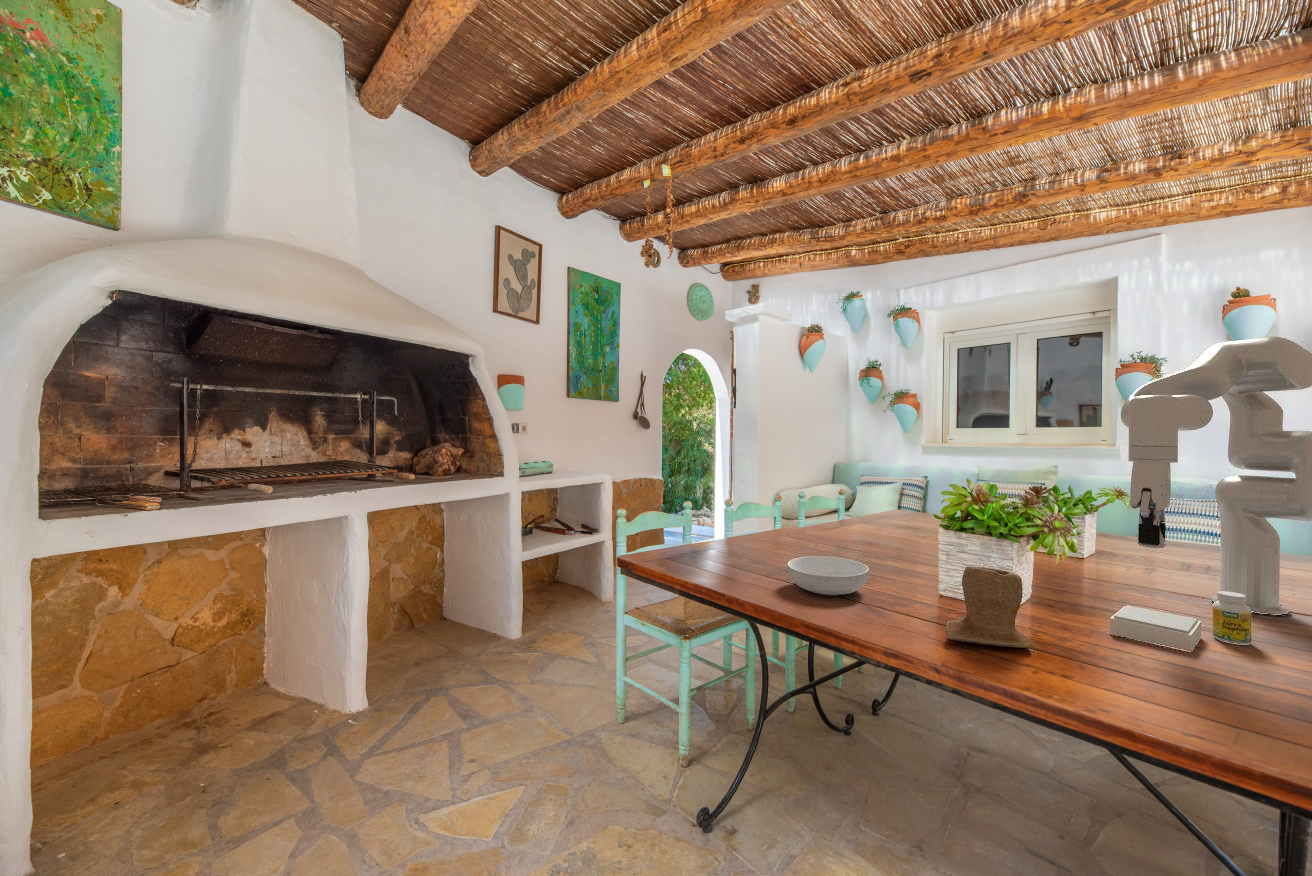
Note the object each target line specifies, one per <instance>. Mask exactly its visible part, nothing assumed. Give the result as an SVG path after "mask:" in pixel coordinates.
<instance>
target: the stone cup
mask: <svg viewBox="0 0 1312 876" xmlns="http://www.w3.org/2000/svg"><path fill="white" fill-rule="evenodd" d="M961 585H962V591H963V598H964V602H965V603H964V604H965V611H966V614H965V616H964V617H963V618H962V619H959V620H954V619H953V620H947V621H946V623H945V635H946V639H947V640H950V641H957V642H962V643H963V642H964V643H969V644H976V645H977V644H978V645H982V646H983V645H984V646H992V647H993V646H994V647H1005V648H1006V647H1007V648H1018V649H1022V648H1023V649H1026V648H1027V649H1028V648H1031V645H1032V642H1031V640H1030V638H1028V636H1026V635H1025V634H1023V633H1022V632H1020V631H1018V630H1017V628H1016V617H1017V614H1018V612H1019V609H1020V606H1021V603H1022V601H1023V591H1024V590H1023V580H1022V577H1021V576H1020V575H1019V574H1018V573H1015V572H1013V571H1009V570H1005V569H999V568H990V567H984V566H983V567H982V566H974V565H973V566H972V565H967V566H966V567H965V569H964V571H963V573H962V578H961Z"/></svg>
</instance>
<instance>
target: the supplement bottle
mask: <svg viewBox="0 0 1312 876" xmlns="http://www.w3.org/2000/svg"><path fill="white" fill-rule="evenodd" d="M1216 595H1217V598H1218V599H1219V601H1216V602H1214V603H1213V602H1212V638H1214V637H1215V638H1217V639H1219V640H1222V641H1227V642H1230V643H1237V644H1250V645H1252V640H1253V639H1252V636H1253V635H1252V613H1251V609H1250V608H1249V607H1248V606H1246V605H1244V604H1245V603H1246V596H1245V595H1243V594H1239V593H1235V592H1227V591H1220V590H1218V591H1217V593H1216ZM1215 638H1214V639H1215Z"/></svg>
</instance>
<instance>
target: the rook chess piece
mask: <svg viewBox="0 0 1312 876" xmlns="http://www.w3.org/2000/svg"><path fill="white" fill-rule="evenodd" d="M1150 509H1151V507H1150ZM1152 510H1155V508H1152ZM1152 514H1153V515H1154V513H1152ZM1161 514H1162V512H1161V511H1159V514H1158V526H1159V522H1160V521H1161V520H1160V519H1159V516H1160V515H1161ZM1153 518H1154V516H1153ZM1162 536H1163V535H1162V534H1161V531H1160V544H1159V545H1150V544H1142V543H1139V542H1138V541H1137V542H1136V543H1137V545H1138V546H1140V547H1144V548H1150V549H1164V548H1165V547H1166V546H1167V545H1166V544H1165V542H1166V538H1165V539H1164V538H1163V537H1162Z"/></svg>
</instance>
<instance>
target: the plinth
mask: <svg viewBox="0 0 1312 876" xmlns="http://www.w3.org/2000/svg"><path fill="white" fill-rule="evenodd" d="M1109 618H1110V619H1109V621H1110V622H1109V635H1110V634H1111V636H1114V635H1115V637H1118V636H1121V637H1120V638H1122V637H1127V638H1131V639H1136V640H1141V641H1147V642H1151V643H1156V644H1160V645H1165V646H1169V647H1174V648H1178V649H1184V650H1187V651H1192V649H1193V648H1194V646H1195V645H1196V643H1197V642H1198V640H1199V639H1200V637H1201V638H1202V621H1201V620H1198V618H1195V617H1190V616H1185V615H1181V614H1175V613H1169V612H1166V611H1165V612H1164V611H1159V610H1155V609H1150V608H1146V607H1145V608H1143V607H1140V606H1139V607H1138V606H1133V605H1129V604H1127V605H1125V606H1123V607H1122V608H1120V610H1118V611H1117V612H1115V614H1113V615H1112V616H1110V617H1109ZM1127 638H1126V639H1127ZM1131 639H1130V640H1131ZM1200 640H1201V639H1200ZM1198 643H1199V642H1198ZM1196 646H1197V645H1196ZM1194 649H1195V648H1194ZM1192 652H1193V651H1192Z"/></svg>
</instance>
